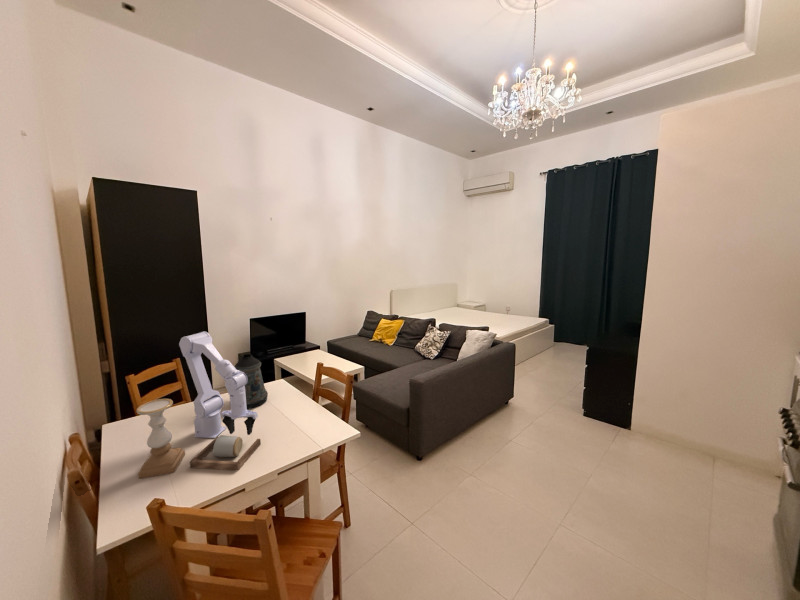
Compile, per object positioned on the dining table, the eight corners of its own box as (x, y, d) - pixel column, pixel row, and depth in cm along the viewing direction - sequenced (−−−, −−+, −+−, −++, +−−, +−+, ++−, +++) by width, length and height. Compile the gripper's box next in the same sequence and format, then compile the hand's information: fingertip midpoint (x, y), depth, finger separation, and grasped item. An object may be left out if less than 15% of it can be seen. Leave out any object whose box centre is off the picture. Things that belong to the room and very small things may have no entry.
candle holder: (174, 472, 110) (166, 410, 106) (137, 479, 107) (128, 415, 103) (185, 453, 121) (178, 396, 117) (152, 458, 117) (144, 400, 114)
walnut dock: (190, 467, 113) (189, 461, 112) (218, 442, 128) (217, 436, 127) (238, 470, 111) (237, 464, 111) (260, 444, 126) (260, 438, 126)
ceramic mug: (235, 461, 116) (233, 442, 115) (213, 461, 116) (211, 442, 115) (248, 444, 127) (246, 426, 126) (227, 444, 126) (226, 427, 125)
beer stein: (248, 413, 150) (244, 364, 146) (221, 404, 158) (217, 358, 154) (275, 398, 165) (271, 353, 161) (249, 391, 173) (246, 348, 169)
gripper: (214, 406, 123) (218, 437, 125) (249, 408, 121) (252, 440, 123) (226, 398, 129) (229, 428, 132) (259, 399, 128) (261, 429, 130)
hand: (241, 433), depth 128 cm, fingers open, 7 cm apart
